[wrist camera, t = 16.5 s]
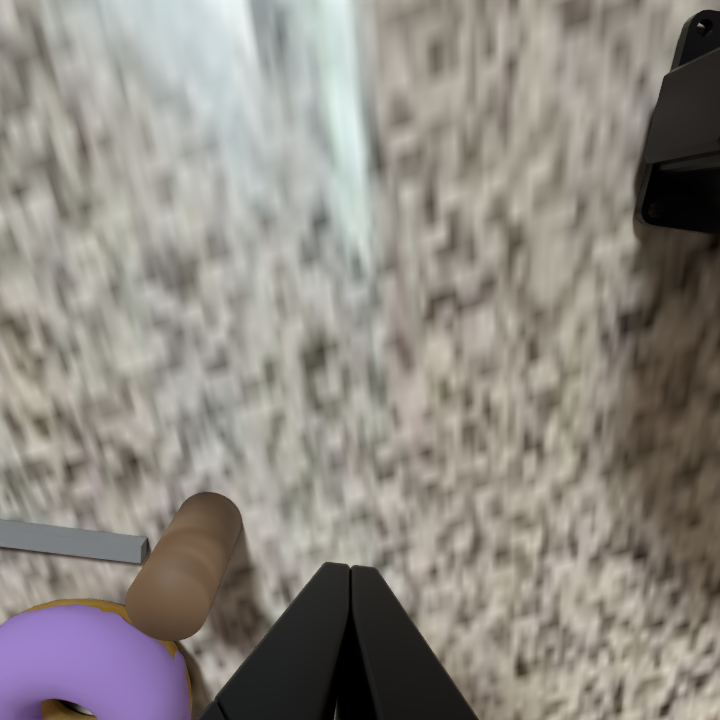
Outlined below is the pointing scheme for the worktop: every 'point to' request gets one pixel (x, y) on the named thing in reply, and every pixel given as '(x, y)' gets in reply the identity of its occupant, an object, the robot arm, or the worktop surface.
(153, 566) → the gate post
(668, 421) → the worktop surface
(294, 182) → the worktop surface
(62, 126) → the worktop surface
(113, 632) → the donut
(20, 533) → the frame
